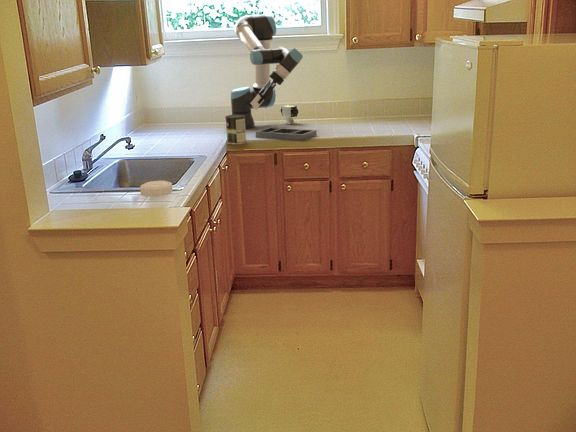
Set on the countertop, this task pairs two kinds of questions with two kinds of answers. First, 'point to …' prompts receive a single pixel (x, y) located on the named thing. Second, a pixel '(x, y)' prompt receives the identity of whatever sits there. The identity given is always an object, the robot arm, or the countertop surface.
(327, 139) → the countertop surface
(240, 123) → the coffee can
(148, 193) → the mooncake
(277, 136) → the gray compartment tray
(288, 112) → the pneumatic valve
